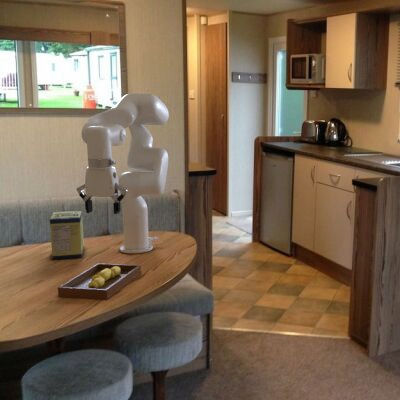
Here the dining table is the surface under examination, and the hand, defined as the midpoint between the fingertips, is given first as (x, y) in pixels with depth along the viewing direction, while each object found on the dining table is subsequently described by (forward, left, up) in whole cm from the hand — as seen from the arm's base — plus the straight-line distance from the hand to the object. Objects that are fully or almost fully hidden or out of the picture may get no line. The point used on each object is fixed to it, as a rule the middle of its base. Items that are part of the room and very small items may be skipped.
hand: (103, 212), depth 191 cm
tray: (+8, +9, -22) cm, 25 cm away
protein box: (-5, -32, -22) cm, 39 cm away
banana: (+8, +9, -21) cm, 24 cm away
